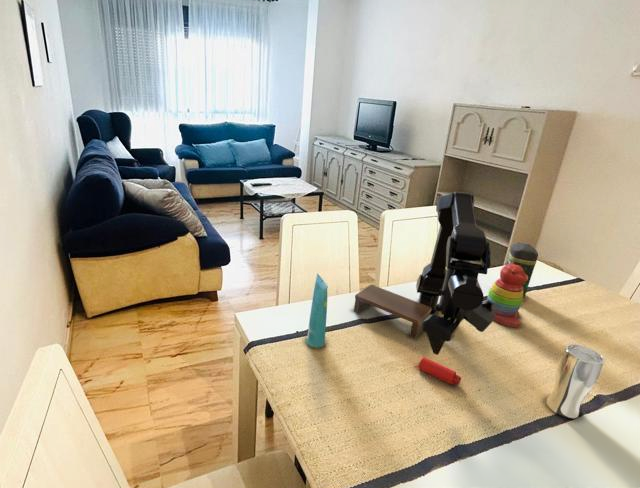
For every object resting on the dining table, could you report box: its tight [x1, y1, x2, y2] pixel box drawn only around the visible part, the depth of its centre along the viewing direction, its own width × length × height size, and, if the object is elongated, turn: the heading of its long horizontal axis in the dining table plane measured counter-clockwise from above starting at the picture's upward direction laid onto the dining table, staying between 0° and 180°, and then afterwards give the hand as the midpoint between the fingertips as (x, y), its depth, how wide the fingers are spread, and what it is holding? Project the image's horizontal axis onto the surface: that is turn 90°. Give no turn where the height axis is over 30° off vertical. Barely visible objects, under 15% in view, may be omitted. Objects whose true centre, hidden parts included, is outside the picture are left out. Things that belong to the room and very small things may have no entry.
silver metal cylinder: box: [546, 343, 605, 419], centre depth 84 cm, size 7×7×15 cm
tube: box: [306, 272, 329, 349], centre depth 101 cm, size 7×5×19 cm, turn 20°
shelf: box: [353, 283, 432, 339], centre depth 116 cm, size 10×20×6 cm, turn 49°
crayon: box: [418, 356, 462, 386], centre depth 93 cm, size 9×3×3 cm, turn 49°
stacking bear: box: [486, 262, 528, 328], centre depth 119 cm, size 11×10×18 cm
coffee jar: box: [505, 242, 539, 300], centre depth 133 cm, size 10×8×19 cm
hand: (442, 345), depth 91 cm, fingers open, 9 cm apart
